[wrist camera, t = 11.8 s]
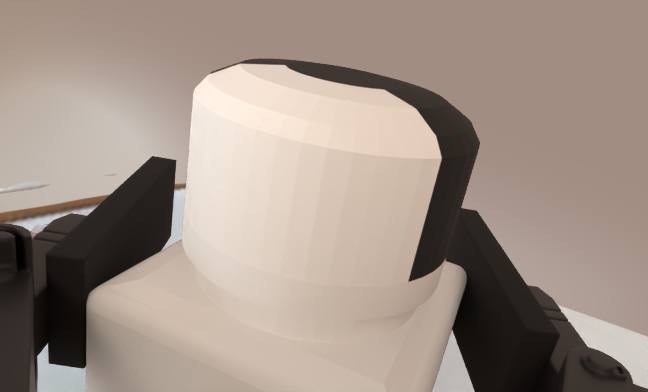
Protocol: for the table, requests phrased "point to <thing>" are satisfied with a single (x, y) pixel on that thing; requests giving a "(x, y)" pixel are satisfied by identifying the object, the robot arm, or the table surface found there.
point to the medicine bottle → (297, 242)
